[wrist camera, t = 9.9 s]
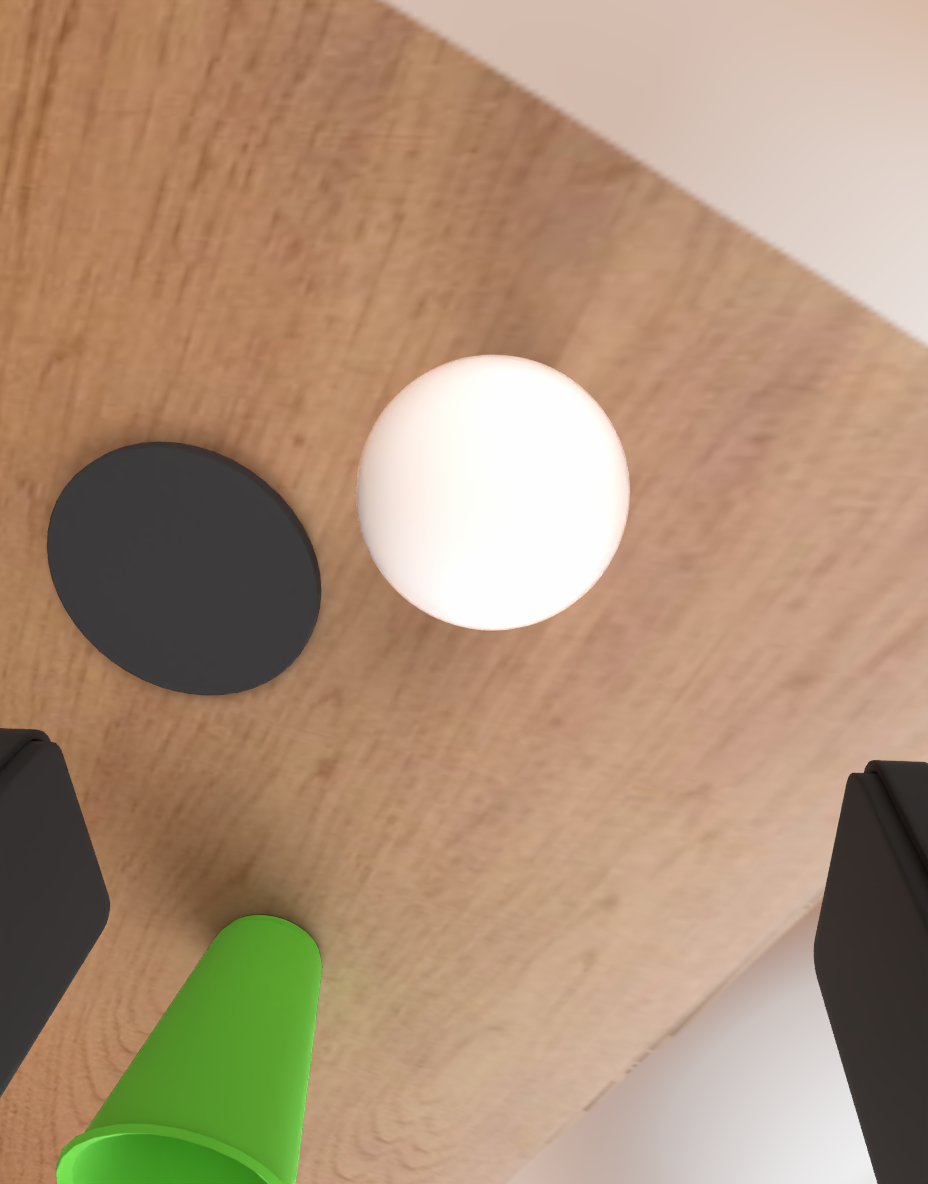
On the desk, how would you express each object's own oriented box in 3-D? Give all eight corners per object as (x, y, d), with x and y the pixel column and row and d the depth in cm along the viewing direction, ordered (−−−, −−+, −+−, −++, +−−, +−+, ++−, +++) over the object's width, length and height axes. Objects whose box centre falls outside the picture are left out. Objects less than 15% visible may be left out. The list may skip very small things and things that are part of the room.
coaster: (21, 442, 29) (11, 448, 29) (301, 439, 28) (296, 444, 27) (93, 684, 34) (85, 692, 33) (336, 690, 32) (332, 699, 32)
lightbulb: (655, 377, 26) (707, 513, 16) (538, 534, 29) (523, 730, 19) (481, 257, 25) (425, 327, 15) (377, 432, 28) (274, 585, 18)
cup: (313, 1038, 43) (238, 1298, 33) (150, 960, 41) (22, 1208, 32) (398, 940, 39) (341, 1204, 29) (221, 851, 37) (100, 1097, 28)
